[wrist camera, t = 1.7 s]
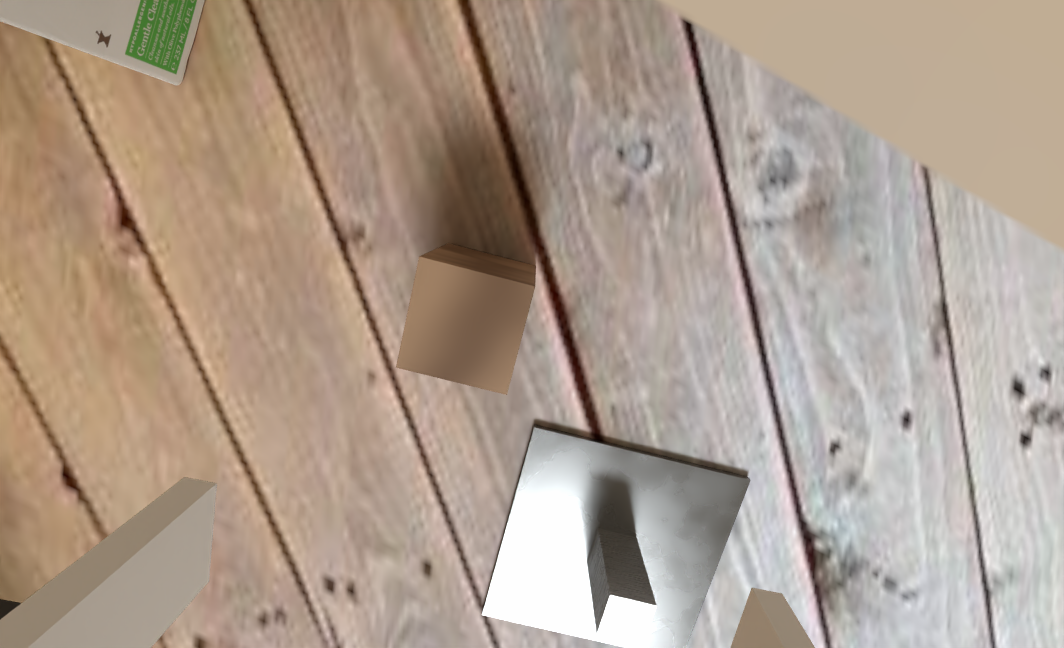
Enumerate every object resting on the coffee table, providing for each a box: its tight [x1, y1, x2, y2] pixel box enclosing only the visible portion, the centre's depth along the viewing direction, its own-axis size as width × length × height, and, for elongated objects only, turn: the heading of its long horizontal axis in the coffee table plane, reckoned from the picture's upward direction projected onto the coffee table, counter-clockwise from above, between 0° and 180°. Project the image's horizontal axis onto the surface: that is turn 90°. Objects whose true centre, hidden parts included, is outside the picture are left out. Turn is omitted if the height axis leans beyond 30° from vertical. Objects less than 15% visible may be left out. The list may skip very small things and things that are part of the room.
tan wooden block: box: [396, 243, 536, 395], centre depth 28 cm, size 5×5×8 cm
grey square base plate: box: [482, 425, 750, 648], centre depth 32 cm, size 14×14×6 cm
